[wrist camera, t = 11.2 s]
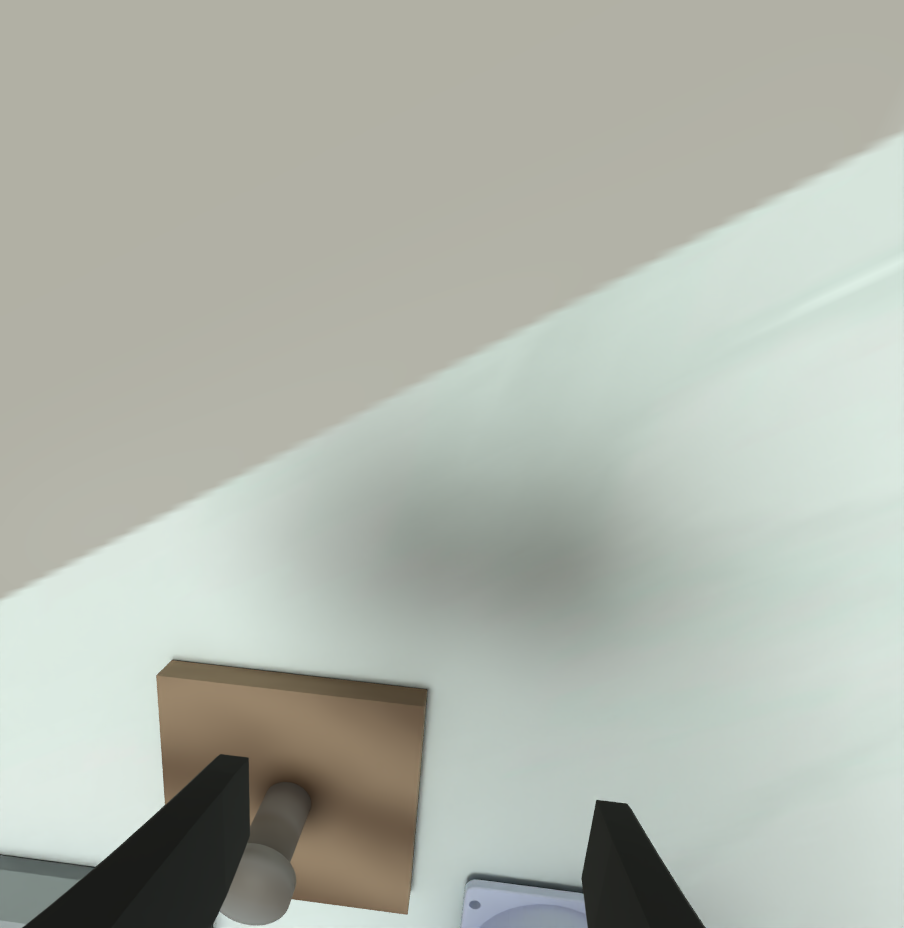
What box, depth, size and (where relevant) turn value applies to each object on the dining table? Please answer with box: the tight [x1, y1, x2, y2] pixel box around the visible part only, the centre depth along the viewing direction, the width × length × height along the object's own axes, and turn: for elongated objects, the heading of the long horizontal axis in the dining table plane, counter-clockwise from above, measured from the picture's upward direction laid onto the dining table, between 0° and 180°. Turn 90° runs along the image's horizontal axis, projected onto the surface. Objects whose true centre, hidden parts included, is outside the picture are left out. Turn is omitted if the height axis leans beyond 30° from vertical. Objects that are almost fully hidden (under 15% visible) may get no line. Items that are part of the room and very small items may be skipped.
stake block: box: [156, 660, 427, 925], centre depth 19 cm, size 11×11×5 cm
